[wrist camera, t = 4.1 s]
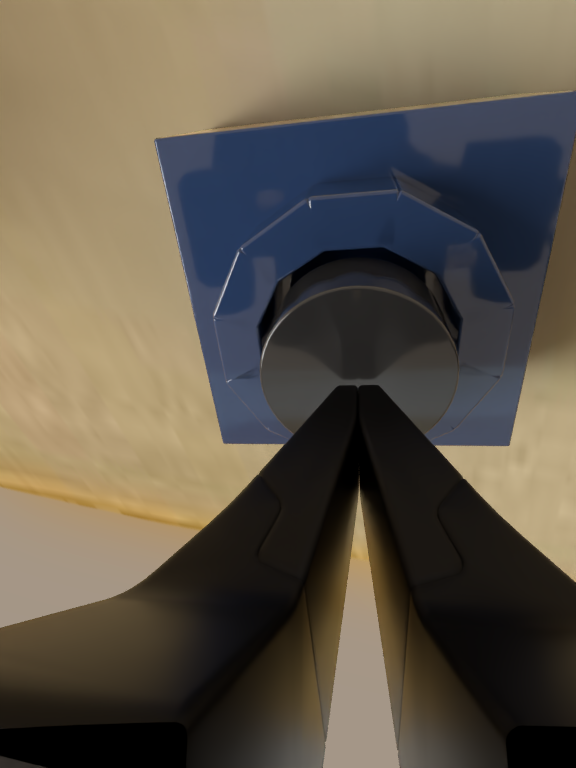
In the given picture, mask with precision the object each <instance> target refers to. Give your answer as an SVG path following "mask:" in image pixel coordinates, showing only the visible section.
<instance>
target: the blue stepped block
mask: <svg viewBox="0 0 576 768" xmlns="http://www.w3.org/2000/svg"><path fill="white" fill-rule="evenodd" d="M575 136H576V90H573V91H556V92H540V93H524V94H511V95H503V96H494V97H485V98H477V99H468V100H459V101H450V102H442V103H433V104H424V105H416V106H407V107H398V108H389V109H381V110H372V111H363V112H355V113H346V114H337V115H328V116H320V117H311V118H302V119H294V120H285V121H276V122H267V123H259V124H250V125H241V126H233V127H224V128H215V129H207V130H202V131H196V132H190V133H184V134H178V135H172V136H167V137H161V138H156V139H155V141H154V142H155V146H156V150H157V155H158V159H159V164H160V168H161V172H162V177H163V181H164V186H165V190H166V194H167V199H168V203H169V207H170V212H171V216H172V221H173V225H174V229H175V234H176V238H177V242H178V247H179V251H180V256H181V260H182V264H183V269H184V273H185V277H186V282H187V286H188V291H189V295H190V299H191V304H192V308H193V312H194V317H195V321H196V326H197V330H198V334H199V339H200V343H201V348H202V352H203V356H204V361H205V365H206V369H207V374H208V378H209V383H210V387H211V391H212V396H213V400H214V404H215V409H216V413H217V418H218V422H219V426H220V431H221V435H222V439H223V443H224V444H286V442H287V441H288V440H289V439H290V438H291V437H292V436H293V435H294V434H293V433H291V432H290V431H289V430H288V429H287V428H285V427H284V425H283V424H282V423H281V422H280V421H279V420H278V419H277V418H276V416H275V415H274V414H273V412H272V411H271V409H270V407H269V405H268V403H267V401H266V399H265V396H264V394H263V391H262V386H261V382H260V371H259V370H260V358H261V354H262V349H263V347H264V344H265V341H266V339H267V336H268V334H269V331H270V329H271V326H272V323H273V321H274V318H275V316H276V313H277V310H278V308H279V305H280V303H281V302H282V300H283V298H284V296H285V295H286V294H287V292H288V291H289V290H290V288H291V287H292V286H293V285H294V284H295V283H296V282H297V281H298V280H299V279H300V278H302V277H303V276H304V275H306V274H307V273H308V272H310V271H312V270H313V269H315V268H317V267H319V266H321V265H324V264H326V263H329V262H332V261H335V260H339V259H344V258H352V257H369V258H376V259H381V260H385V261H389V262H392V263H394V264H397V265H399V266H401V267H403V268H405V269H407V270H408V271H410V272H412V273H413V274H414V275H416V276H417V277H418V278H419V279H421V280H422V281H423V282H424V283H425V285H426V286H427V287H428V288H429V289H430V290H431V292H432V293H433V295H434V296H435V298H436V300H437V302H438V304H439V306H440V308H441V311H442V313H443V316H444V318H445V321H446V323H447V326H448V328H449V331H450V333H451V335H452V338H453V340H454V343H455V346H456V349H457V353H458V358H459V381H458V386H457V390H456V393H455V395H454V398H453V401H452V403H451V404H450V406H449V408H448V410H447V412H446V413H445V414H444V416H443V417H442V418H441V420H440V421H439V422H438V423H437V424H436V425H435V426H434V427H433V428H432V429H431V430H429V431H428V432H427V433H426V434H424V435H425V436H426V437H427V438H428V439H429V440H430V442H431V443H432V444H433V445H439V446H509V445H510V441H511V436H512V431H513V426H514V422H515V417H516V412H517V408H518V403H519V398H520V394H521V389H522V384H523V380H524V375H525V370H526V366H527V361H528V356H529V352H530V347H531V342H532V338H533V333H534V328H535V324H536V319H537V314H538V310H539V305H540V300H541V296H542V291H543V286H544V281H545V277H546V272H547V267H548V263H549V258H550V253H551V249H552V244H553V239H554V235H555V230H556V225H557V221H558V216H559V211H560V207H561V202H562V197H563V193H564V188H565V183H566V179H567V174H568V169H569V165H570V160H571V155H572V151H573V146H574V141H575Z"/></svg>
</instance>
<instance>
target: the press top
mask: <svg viewBox="0 0 576 768" xmlns="http://www.w3.org/2000/svg"><path fill="white" fill-rule="evenodd" d="M259 371H260V382H261V386H262V391H263V394H264V396H265V399H266V401H267V403H268V405H269V407H270V409H271V411H272V412H273V414H274V415H275V416H276V418H277V419H278V420H279V421H280V422H281V423H282V424H283V425H284V427H285V428H287V429H288V430H289V431H290V432H291V433H293V434H294V433H295V432H296V431H297V430H298V429H299V428H300V427H301V426H302V425H303V423H304V422H305V421H306V420H307V419H308V418H309V417H310V416H311V415H312V413H313V412H314V411H315V410H316V409H317V408H318V407H319V406H320V404H321V403H322V402H323V401H324V400H325V399H326V398H327V397H328V396H329V394H330V393H331V392H332V391H333V390H334V389H335V388H336V387H337V386H339V385H355V386H357V387H359V386H360V385H379V386H380V387H381V388H382V389H383V390H384V391H385V392H386V393H387V395H388V396H389V397H390V398H391V399H392V400H393V401H394V402H395V403H396V404H397V406H398V407H399V408H400V409H401V410H402V411H403V412H404V413H405V414H406V415H407V416H408V418H409V419H410V420H411V421H412V422H413V423H414V424H415V425H416V426H417V427H418V428H419V430H420V431H421V432H422V433H423V434H426V433H427V432H428V431H429V430H431V429H432V428H433V427H434V426H435V425H436V424H437V423H438V422H439V421H440V420H441V418H442V417H443V416H444V414H445V413H446V412H447V410H448V408H449V406H450V404H451V403H452V401H453V398H454V395H455V393H456V390H457V386H458V381H459V358H458V353H457V349H456V346H455V343H454V340H453V338H452V335H451V333H450V331H449V328H448V326H447V323H446V321H445V318H444V316H443V313H442V311H441V308H440V306H439V304H438V302H437V300H436V298H435V296H434V295H433V293H432V292H431V290H430V289H429V288H428V287H427V286H426V285H425V283H424V282H423V281H422V280H421V279H419V278H418V277H417V276H416V275H414V274H413V273H412V272H410V271H408V270H407V269H405V268H403V267H401V266H399V265H397V264H394V263H392V262H389V261H385V260H381V259H376V258H369V257H352V258H344V259H339V260H335V261H332V262H329V263H326V264H324V265H321V266H319V267H317V268H315V269H313V270H312V271H310V272H308V273H307V274H306V275H304V276H303V277H302V278H300V279H299V280H298V281H297V282H296V283H295V284H294V285H293V286H292V287H291V288H290V290H289V291H288V292H287V294H286V295H285V296H284V298H283V300H282V302H281V303H280V305H279V308H278V310H277V313H276V316H275V318H274V321H273V323H272V326H271V329H270V331H269V334H268V336H267V339H266V341H265V344H264V347H263V349H262V354H261V358H260V370H259Z"/></svg>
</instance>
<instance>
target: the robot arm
mask: <svg viewBox="0 0 576 768" xmlns="http://www.w3.org/2000/svg"><path fill="white" fill-rule="evenodd" d="M359 484H360V497H361V505H362V512H363V519H364V526H365V532H366V539H367V546H368V553H369V560H370V566H371V573H372V580H373V587H374V594H375V600H376V608H377V614H378V621H379V628H380V635H381V642H382V648H383V655H384V662H385V669H386V675H387V683H388V689H389V696H390V703H391V710H392V717H393V724H394V730H395V737H396V744H397V750H398V758H399V765H400V768H576V582H575V581H573V580H572V579H571V578H570V577H569V576H568V575H566V574H565V573H564V572H563V571H562V570H561V569H560V568H558V567H557V566H556V565H555V564H554V563H553V562H552V561H550V560H549V559H548V558H547V557H546V556H545V555H544V554H542V553H541V552H540V551H539V550H538V549H537V548H536V547H534V546H533V545H532V544H531V543H530V542H529V541H528V540H526V539H525V538H524V537H523V536H522V535H521V534H520V533H519V532H517V531H516V530H515V529H514V528H513V527H512V526H511V525H510V524H509V523H508V522H507V521H505V520H504V519H503V518H502V517H501V516H500V515H499V514H498V513H497V512H496V511H495V510H494V509H493V508H492V507H491V506H490V505H489V504H488V503H487V502H486V501H485V500H484V499H483V498H482V497H481V496H480V495H479V494H478V493H477V492H476V491H475V489H474V488H473V487H472V486H471V485H470V484H469V483H468V482H467V481H466V480H465V479H463V477H462V475H461V474H460V473H459V472H458V471H457V470H456V469H455V468H454V467H453V466H452V465H451V463H450V462H449V461H448V460H447V459H446V458H445V457H444V456H443V455H442V454H441V453H440V451H439V450H438V449H437V448H436V447H435V446H434V445H433V444H432V443H431V442H430V440H429V439H428V438H427V437H426V436H425V435H424V434H423V433H422V432H421V431H420V430H419V428H418V427H417V426H416V425H415V424H414V423H413V422H412V421H411V420H410V419H409V418H408V416H407V415H406V414H405V413H404V412H403V411H402V410H401V409H400V408H399V407H398V406H397V404H396V403H395V402H394V401H393V400H392V399H391V398H390V397H389V396H388V395H387V393H386V392H385V391H384V390H383V389H382V388H381V387H380V386H379V385H360V386H359V387H357V386H355V385H339V386H337V387H336V388H335V389H334V390H333V391H332V392H331V393H330V394H329V396H328V397H327V398H326V399H325V400H324V401H323V402H322V403H321V404H320V406H319V407H318V408H317V409H316V410H315V411H314V412H313V413H312V415H311V416H310V417H309V418H308V419H307V420H306V421H305V422H304V423H303V425H302V426H301V427H300V428H299V429H298V430H297V431H296V432H295V433H294V435H293V436H292V437H291V438H290V439H289V440H288V441H287V442H286V444H285V445H284V446H283V447H282V448H281V449H280V450H279V451H278V452H277V454H276V455H275V456H274V457H273V458H272V459H271V460H270V461H269V462H268V464H267V465H266V466H265V467H264V468H263V469H262V470H261V471H260V473H259V475H257V476H256V477H255V478H254V479H253V480H252V481H251V482H250V483H249V485H248V486H247V487H246V488H245V489H244V490H243V491H242V492H241V493H240V494H239V495H238V496H237V497H236V498H235V499H234V500H233V501H232V502H231V503H230V504H229V505H228V506H227V507H226V508H225V509H224V510H223V511H222V512H221V513H220V514H219V515H218V516H216V517H215V518H214V519H213V520H212V521H211V522H210V523H209V524H208V525H207V526H206V527H204V528H203V529H202V530H201V531H200V532H199V533H198V534H196V535H195V536H194V537H193V538H192V539H191V540H190V541H189V542H188V543H186V544H185V545H184V546H183V547H182V548H181V549H179V550H178V551H177V552H176V553H175V554H174V555H173V556H172V557H170V558H169V559H168V560H167V561H166V562H165V563H164V564H162V565H161V566H160V567H159V568H158V569H157V570H156V571H155V572H153V573H152V574H151V575H149V576H148V577H147V578H146V579H144V580H143V581H142V582H140V583H139V584H137V585H136V586H134V587H133V588H131V589H129V590H128V591H126V592H124V593H121V594H119V595H117V596H114V597H112V598H109V599H106V600H102V601H99V602H95V603H91V604H87V605H84V606H80V607H76V608H72V609H69V610H66V611H62V612H58V613H54V614H50V615H47V616H43V617H39V618H35V619H32V620H28V621H24V622H21V623H17V624H13V625H10V626H6V627H2V628H0V768H323V761H324V753H325V742H326V738H327V730H328V722H329V715H330V708H331V700H332V693H333V685H334V677H335V670H336V662H337V654H338V647H339V640H340V632H341V624H342V617H343V609H344V602H345V593H346V587H347V579H348V571H349V564H350V556H351V549H352V541H353V534H354V526H355V518H356V511H357V503H358V494H359Z"/></svg>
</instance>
